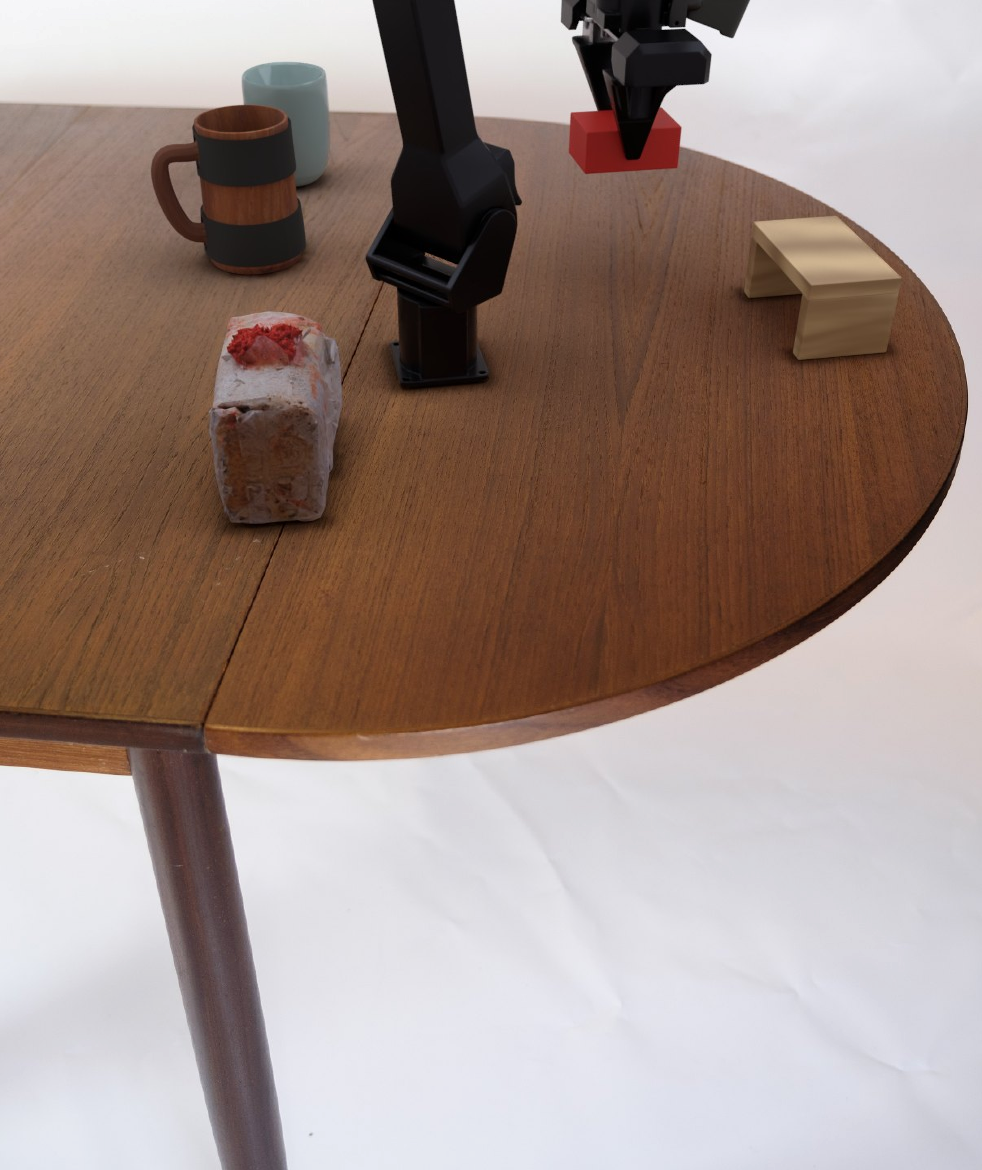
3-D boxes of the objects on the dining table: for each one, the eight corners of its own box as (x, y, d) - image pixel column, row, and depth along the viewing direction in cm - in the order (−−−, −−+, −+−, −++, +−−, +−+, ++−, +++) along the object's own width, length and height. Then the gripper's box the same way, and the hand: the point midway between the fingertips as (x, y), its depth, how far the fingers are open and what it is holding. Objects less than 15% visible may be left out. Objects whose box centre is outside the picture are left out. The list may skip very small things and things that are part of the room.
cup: (239, 189, 122) (226, 81, 116) (273, 162, 128) (263, 58, 122) (314, 198, 120) (305, 89, 114) (345, 171, 126) (338, 65, 120)
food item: (229, 417, 88) (211, 283, 82) (345, 411, 89) (335, 279, 83) (216, 530, 78) (193, 386, 72) (348, 523, 78) (336, 380, 72)
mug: (159, 249, 111) (136, 112, 104) (295, 231, 114) (282, 97, 107) (173, 289, 105) (150, 146, 97) (317, 269, 108) (305, 129, 101)
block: (658, 147, 103) (661, 107, 101) (677, 168, 100) (682, 127, 98) (568, 153, 102) (570, 112, 100) (584, 174, 98) (587, 132, 96)
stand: (886, 352, 96) (902, 277, 93) (798, 360, 95) (811, 285, 92) (824, 285, 106) (836, 215, 102) (743, 292, 105) (753, 221, 101)
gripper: (796, -49, 85) (764, 183, 94) (702, -99, 99) (682, 106, 109) (635, -43, 83) (618, 193, 92) (563, -95, 97) (555, 113, 107)
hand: (622, 148), depth 100 cm, fingers closed on block, 5 cm apart
